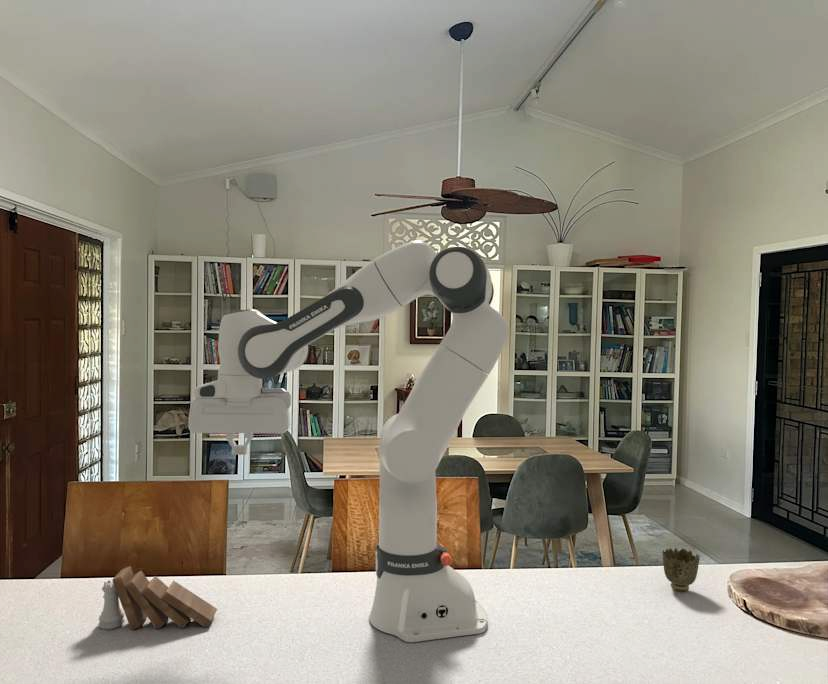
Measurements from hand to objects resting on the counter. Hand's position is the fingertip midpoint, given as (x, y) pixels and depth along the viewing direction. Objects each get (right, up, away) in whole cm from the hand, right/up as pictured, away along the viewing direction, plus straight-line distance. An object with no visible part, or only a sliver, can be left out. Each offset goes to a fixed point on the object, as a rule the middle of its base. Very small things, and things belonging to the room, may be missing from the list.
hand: (239, 454), depth 133 cm
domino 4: (-2, -29, -12) cm, 31 cm away
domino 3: (-6, -29, -13) cm, 32 cm away
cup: (+94, -31, +5) cm, 99 cm away
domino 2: (-10, -29, -13) cm, 33 cm away
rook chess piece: (-20, -29, -14) cm, 38 cm away
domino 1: (-15, -29, -13) cm, 35 cm away
